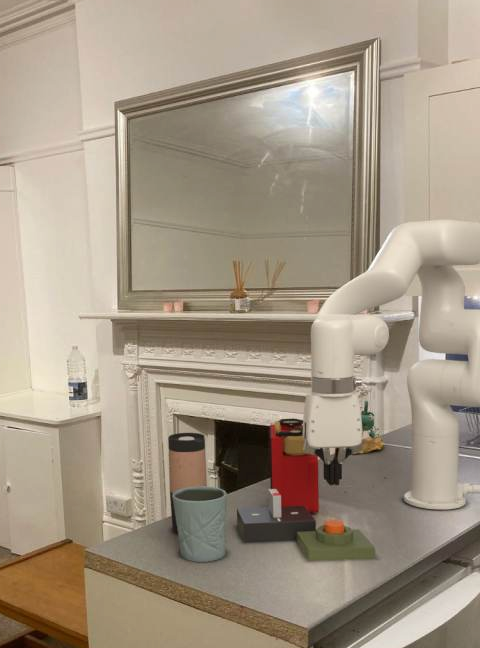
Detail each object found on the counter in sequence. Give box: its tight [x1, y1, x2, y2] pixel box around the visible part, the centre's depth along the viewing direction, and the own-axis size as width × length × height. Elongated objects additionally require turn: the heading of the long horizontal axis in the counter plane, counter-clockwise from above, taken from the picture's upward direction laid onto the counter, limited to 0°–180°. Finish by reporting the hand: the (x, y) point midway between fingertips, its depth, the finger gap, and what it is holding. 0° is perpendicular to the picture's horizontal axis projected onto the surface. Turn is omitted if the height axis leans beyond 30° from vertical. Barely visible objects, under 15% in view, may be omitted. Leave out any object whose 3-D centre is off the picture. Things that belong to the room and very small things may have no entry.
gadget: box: [236, 506, 317, 544], centre depth 164 cm, size 14×10×4 cm
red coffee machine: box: [267, 417, 320, 514], centre depth 179 cm, size 16×10×20 cm, turn 168°
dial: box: [267, 488, 281, 518], centre depth 164 cm, size 5×2×5 cm, turn 179°
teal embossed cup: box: [172, 486, 228, 563], centre depth 154 cm, size 10×10×12 cm
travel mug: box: [167, 432, 208, 535], centre depth 168 cm, size 8×8×20 cm
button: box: [323, 519, 345, 534], centre depth 153 cm, size 4×4×2 cm
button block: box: [296, 524, 376, 562], centre depth 153 cm, size 12×10×4 cm
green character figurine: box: [352, 400, 385, 455], centre depth 229 cm, size 10×18×15 cm, turn 133°
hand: (332, 483), depth 151 cm, fingers closed
